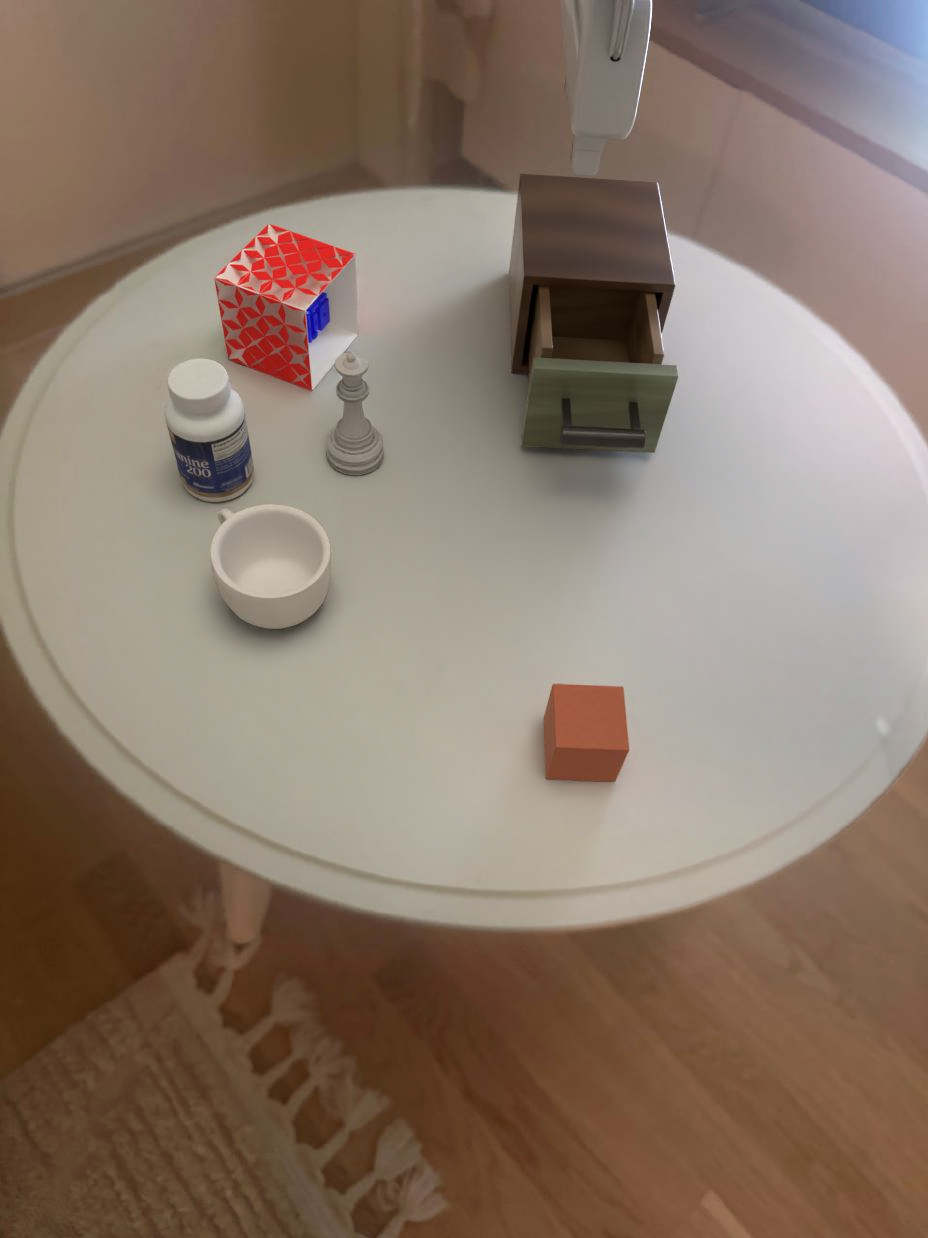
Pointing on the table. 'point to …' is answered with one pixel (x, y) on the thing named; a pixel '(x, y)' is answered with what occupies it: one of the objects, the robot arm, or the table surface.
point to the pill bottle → (208, 431)
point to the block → (585, 732)
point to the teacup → (271, 564)
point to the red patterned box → (288, 305)
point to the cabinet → (585, 244)
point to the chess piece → (353, 422)
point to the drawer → (596, 370)
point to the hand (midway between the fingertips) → (579, 130)
